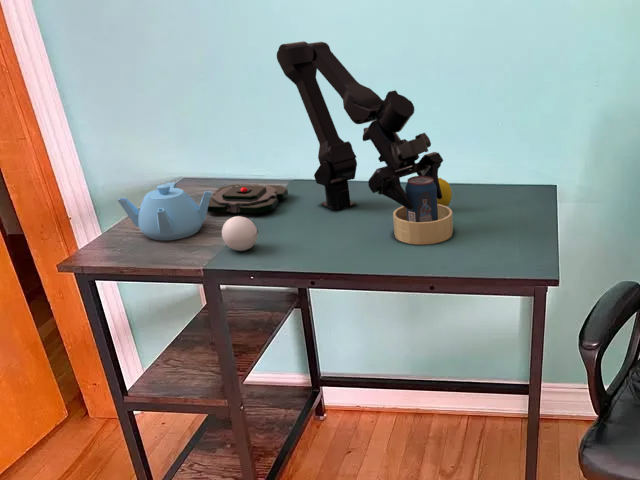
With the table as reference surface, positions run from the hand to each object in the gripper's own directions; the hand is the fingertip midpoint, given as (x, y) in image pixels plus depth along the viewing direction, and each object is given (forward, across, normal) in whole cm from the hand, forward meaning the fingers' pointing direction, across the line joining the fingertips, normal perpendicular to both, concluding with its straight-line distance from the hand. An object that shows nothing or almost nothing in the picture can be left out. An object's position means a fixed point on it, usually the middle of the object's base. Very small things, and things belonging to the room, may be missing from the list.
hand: (426, 203), depth 158 cm
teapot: (-28, -36, +38) cm, 60 cm away
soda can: (+4, 0, +6) cm, 7 cm away
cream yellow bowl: (+4, 0, +6) cm, 7 cm away
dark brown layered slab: (-30, -15, +41) cm, 53 cm away
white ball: (-13, -31, +24) cm, 41 cm away
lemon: (-1, +14, +12) cm, 19 cm away
